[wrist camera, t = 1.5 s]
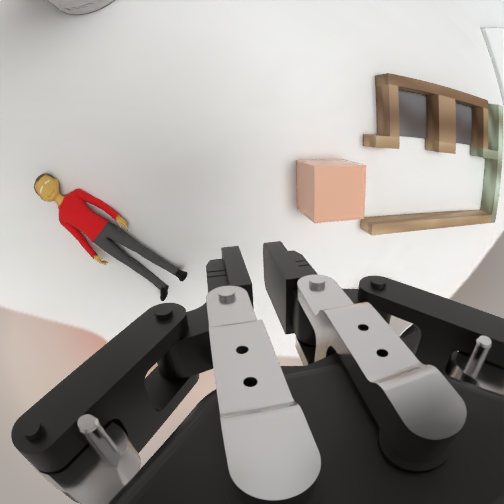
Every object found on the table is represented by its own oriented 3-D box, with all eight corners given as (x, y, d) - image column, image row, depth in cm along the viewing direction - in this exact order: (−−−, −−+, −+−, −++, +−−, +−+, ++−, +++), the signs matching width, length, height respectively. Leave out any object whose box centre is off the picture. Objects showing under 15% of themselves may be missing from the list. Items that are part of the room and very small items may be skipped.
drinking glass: (340, 304, 36) (378, 355, 27) (377, 264, 35) (425, 306, 26) (368, 326, 39) (405, 374, 30) (401, 291, 38) (446, 331, 29)
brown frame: (360, 73, 26) (373, 70, 24) (490, 105, 29) (502, 106, 27) (360, 228, 33) (371, 235, 31) (483, 217, 36) (494, 222, 34)
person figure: (159, 313, 28) (15, 199, 21) (156, 301, 32) (27, 200, 25) (190, 271, 29) (46, 153, 22) (183, 264, 32) (55, 160, 26)
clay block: (296, 160, 29) (314, 166, 24) (341, 159, 30) (366, 165, 25) (297, 208, 31) (314, 223, 26) (341, 205, 32) (363, 218, 27)
